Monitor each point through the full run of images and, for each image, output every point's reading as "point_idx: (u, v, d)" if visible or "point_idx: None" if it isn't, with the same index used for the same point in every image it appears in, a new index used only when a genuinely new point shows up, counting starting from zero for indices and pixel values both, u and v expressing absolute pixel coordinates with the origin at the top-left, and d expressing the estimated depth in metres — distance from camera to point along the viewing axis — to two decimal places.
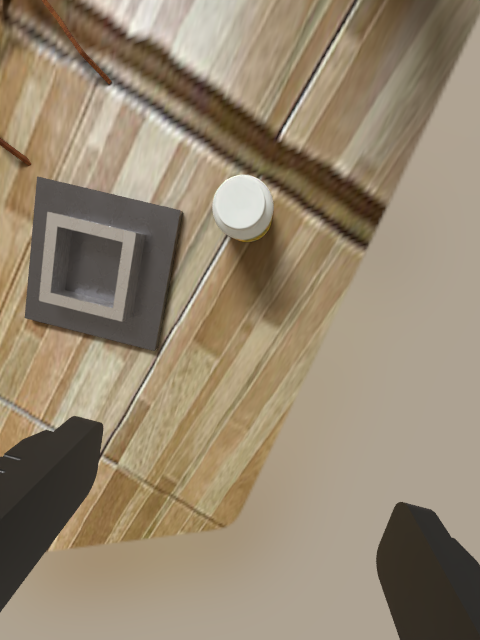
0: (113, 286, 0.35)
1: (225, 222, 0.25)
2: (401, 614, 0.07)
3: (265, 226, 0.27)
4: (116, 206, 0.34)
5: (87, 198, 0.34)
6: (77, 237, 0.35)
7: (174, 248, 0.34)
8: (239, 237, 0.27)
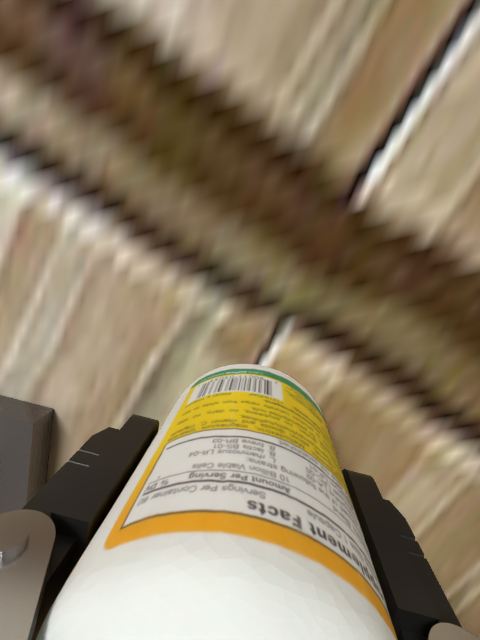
0: None
1: None
2: None
3: None
4: None
5: None
6: None
7: None
8: None
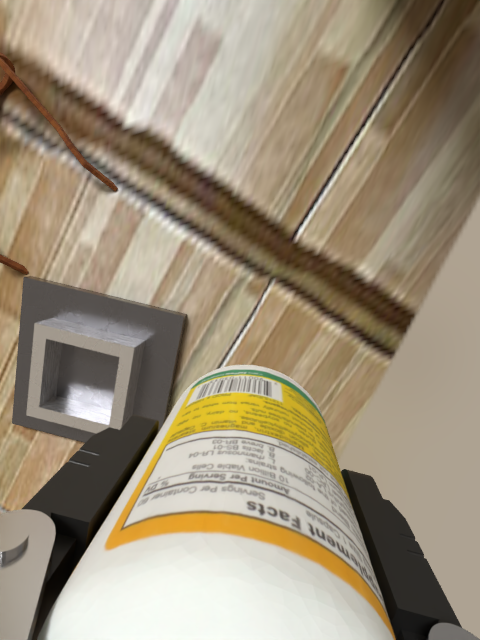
0: (109, 393, 0.32)
1: None
2: None
3: None
4: (112, 310, 0.30)
5: (80, 301, 0.30)
6: None
7: (177, 354, 0.31)
8: None
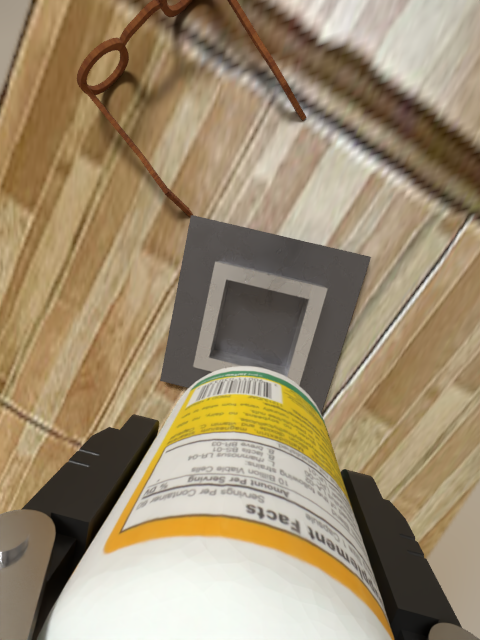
0: (274, 345, 0.29)
1: None
2: None
3: None
4: (288, 251, 0.27)
5: (252, 241, 0.27)
6: (235, 287, 0.28)
7: (355, 301, 0.28)
8: None
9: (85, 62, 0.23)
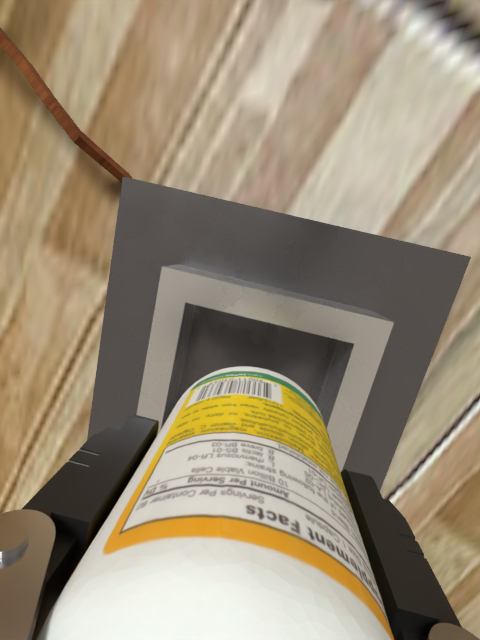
0: None
1: None
2: None
3: None
4: (309, 247, 0.14)
5: (240, 227, 0.14)
6: (209, 314, 0.15)
7: (433, 340, 0.15)
8: None
9: None
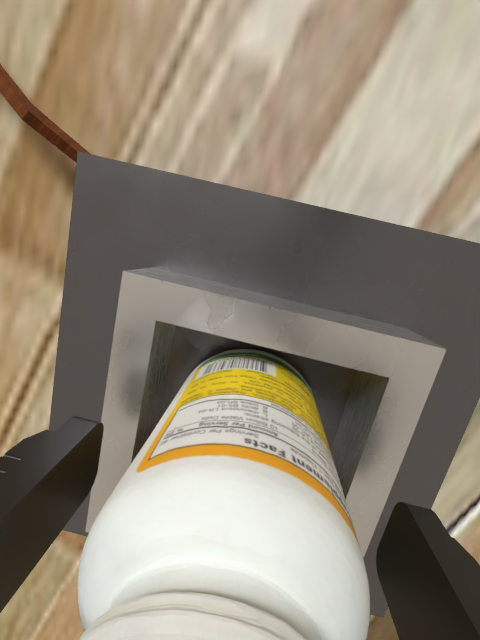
0: None
1: None
2: (400, 614, 0.07)
3: None
4: (324, 244, 0.11)
5: (233, 219, 0.11)
6: (193, 331, 0.12)
7: None
8: None
9: None
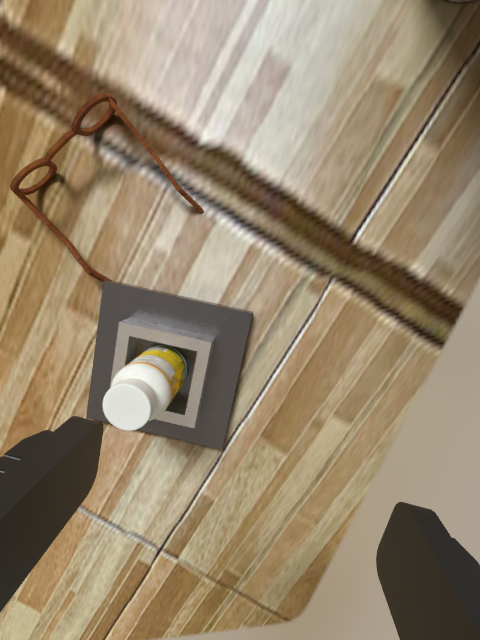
0: (180, 387, 0.34)
1: (114, 424, 0.25)
2: (401, 614, 0.07)
3: (162, 411, 0.27)
4: (185, 309, 0.33)
5: (155, 301, 0.33)
6: (144, 339, 0.34)
7: None
8: None
9: (15, 179, 0.28)
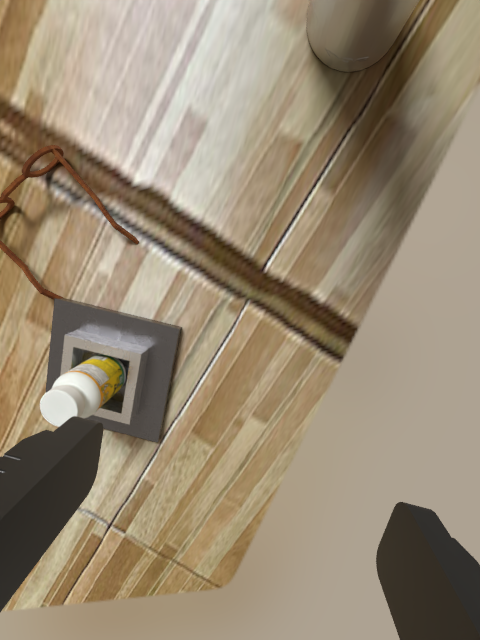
0: (121, 389, 0.40)
1: (49, 422, 0.31)
2: (401, 614, 0.07)
3: (93, 411, 0.34)
4: (123, 324, 0.39)
5: (98, 317, 0.39)
6: None
7: (174, 358, 0.39)
8: None
9: None
